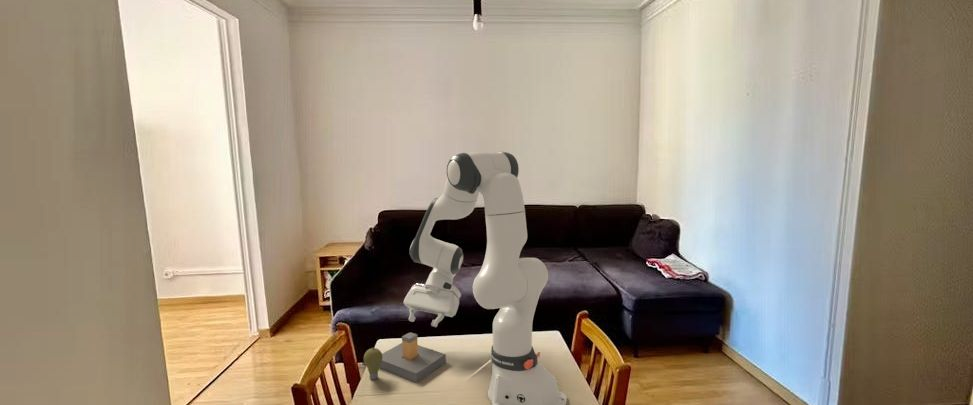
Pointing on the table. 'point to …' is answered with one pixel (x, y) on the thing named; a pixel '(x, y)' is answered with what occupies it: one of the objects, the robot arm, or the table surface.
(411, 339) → the plug
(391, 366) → the grey block with hole
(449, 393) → the table surface
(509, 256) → the robot arm
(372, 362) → the light bulb
